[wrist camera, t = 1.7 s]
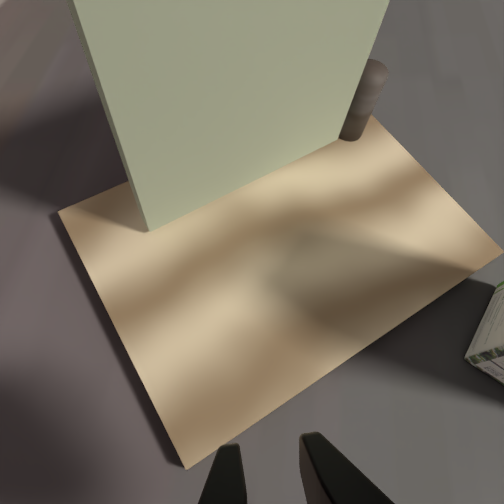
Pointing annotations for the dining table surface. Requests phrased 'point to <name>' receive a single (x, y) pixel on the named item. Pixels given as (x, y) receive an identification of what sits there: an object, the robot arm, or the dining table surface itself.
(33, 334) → the dining table surface
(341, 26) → the door
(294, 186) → the door stand
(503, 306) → the syrup box
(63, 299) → the dining table surface
